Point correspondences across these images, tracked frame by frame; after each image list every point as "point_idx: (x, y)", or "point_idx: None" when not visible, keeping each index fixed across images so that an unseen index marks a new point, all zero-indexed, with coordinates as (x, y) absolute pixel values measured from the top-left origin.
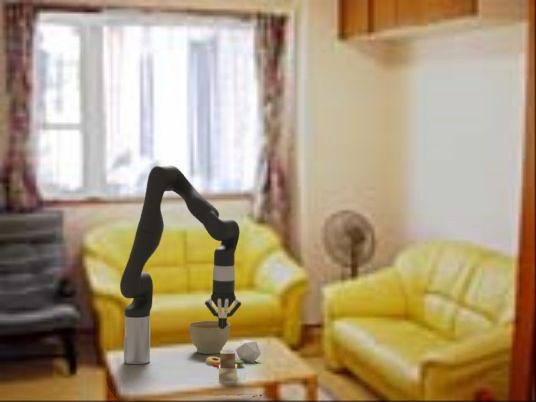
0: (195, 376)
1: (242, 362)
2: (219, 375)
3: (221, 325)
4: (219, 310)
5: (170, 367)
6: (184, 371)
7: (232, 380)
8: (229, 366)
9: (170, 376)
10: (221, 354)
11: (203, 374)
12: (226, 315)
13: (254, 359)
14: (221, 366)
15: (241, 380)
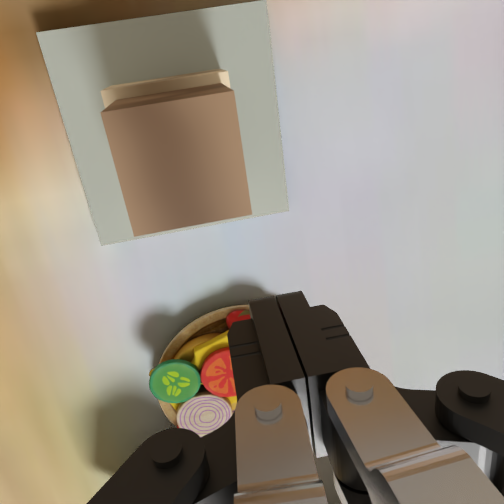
0: (362, 191)
1: (151, 373)
2: (219, 70)
3: (294, 310)
4: (435, 461)
5: (481, 317)
6: (419, 268)
7: (136, 77)
8: (155, 94)
9: (481, 169)
10: (222, 91)
11: (327, 235)
12: (246, 428)
13: None
14: (213, 84)
15: (80, 86)
